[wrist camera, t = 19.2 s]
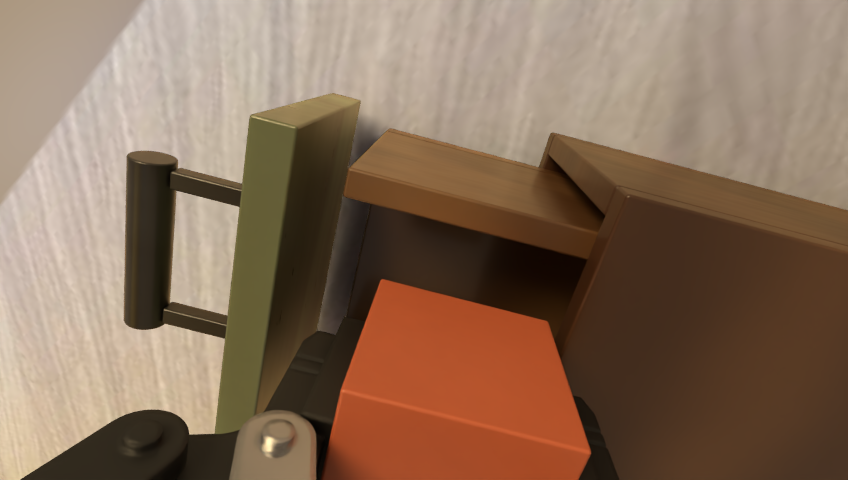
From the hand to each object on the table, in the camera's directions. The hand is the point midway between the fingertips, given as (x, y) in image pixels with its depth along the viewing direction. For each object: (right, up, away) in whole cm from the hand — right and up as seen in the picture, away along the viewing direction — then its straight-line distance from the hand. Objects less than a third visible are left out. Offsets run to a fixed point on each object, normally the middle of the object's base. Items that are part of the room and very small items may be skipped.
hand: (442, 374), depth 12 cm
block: (0, 0, 0) cm, 0 cm away
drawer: (-1, +3, +9) cm, 9 cm away
